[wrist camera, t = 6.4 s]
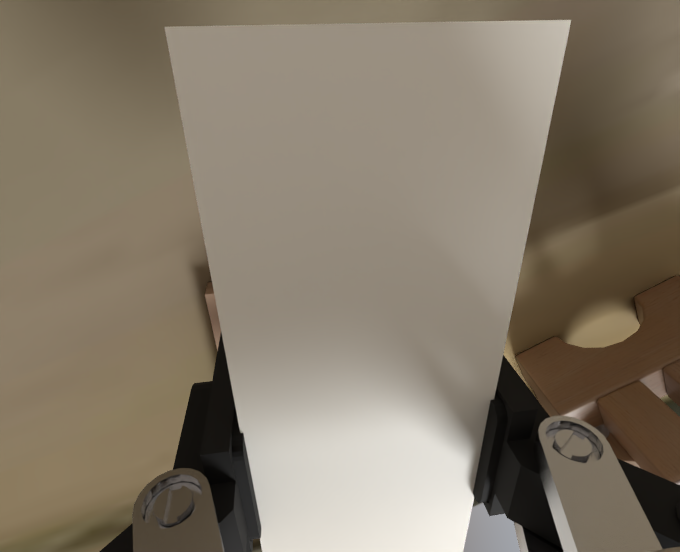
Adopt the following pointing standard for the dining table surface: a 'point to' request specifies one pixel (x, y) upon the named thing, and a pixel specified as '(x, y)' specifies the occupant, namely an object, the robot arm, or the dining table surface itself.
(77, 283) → the dining table surface
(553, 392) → the wooden toy
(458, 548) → the block
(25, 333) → the dining table surface
